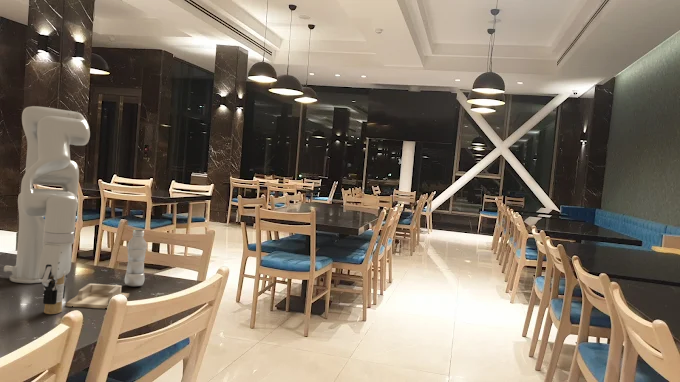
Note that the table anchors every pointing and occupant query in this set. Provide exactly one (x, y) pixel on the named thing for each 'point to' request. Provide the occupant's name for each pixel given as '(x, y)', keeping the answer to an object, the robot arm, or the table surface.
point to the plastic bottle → (136, 259)
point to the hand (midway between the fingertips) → (53, 300)
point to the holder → (95, 296)
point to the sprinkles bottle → (58, 306)
